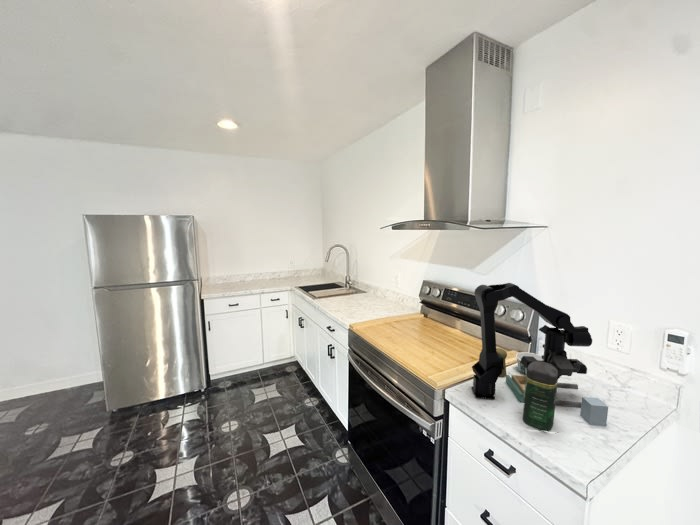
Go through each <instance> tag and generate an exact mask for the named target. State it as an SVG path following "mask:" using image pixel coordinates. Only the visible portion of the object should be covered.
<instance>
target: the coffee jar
mask: <svg viewBox="0 0 700 525" xmlns="http://www.w3.org/2000/svg"><path fill="white" fill-rule="evenodd" d="M525 376H526V387H525V400H524V403H523V411H522V421H523V422H524V423H525V424H526V425H528V427H532V428H534V429H536V430H538V431H542V432H550V431H552V429H553V427H554V422H555V409H556V406H555V404H556V400H557V393H558V388H557V383H559V382H558V381H559V379H558V371H557V369H556V368H555V367H554V366H553V365H552V364H549V363H546V362H542V361H535V362H532V363H530V364H529V365H528V368H527V375H525Z"/></svg>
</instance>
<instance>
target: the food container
mask: <svg viewBox="0 0 700 525" xmlns="http://www.w3.org/2000/svg"><path fill="white" fill-rule="evenodd" d="M523 356H532V357H534V358H535V359H536V360H540V361H543V359H542V354H537V353H533V352H526V351H522V352H517V353H516V354H515V357H516V363H517V370H518V371H519V372H520V373H521V374H522V375H525V376H526V375H527V369H526V368H525V367H524V366H523V364H522V363H521V358H522V357H523Z"/></svg>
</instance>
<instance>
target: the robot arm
mask: <svg viewBox="0 0 700 525" xmlns="http://www.w3.org/2000/svg"><path fill="white" fill-rule="evenodd" d="M512 297H513V298H514V299H516V300H517V301H519V302H520V303H522V304H523V305H525V306H526V307H528V308H529V309H531V310H533V311H534V312H535V313H536V314H537V315H538V316H539V318H541V319H542V320H543V321H544V322H545V323H547V324H549V325H551V327H549V326H548V325H546V324H545V325H543V326H542V327H539V329H538V331H539V332H541V333H543V334H544V344H542V348H543V354H541V356H542V359H543V361H542V362H546V363H549V364H552V365H553V366H554V367H555V368H556V369H557V371H558V380H559V379H560V378H561V377H562V376H567V377H571V376H573V373H576V374H579V375H580V374H581V375H586V374H588V367H587V365H586V364H585V363H583V362H582V361H581V360H579V359H577V358H568V354H567V351H566V350H565V346H566V345H567V346H569V347H582V348H583V347H591V345H592V344H593V338H592V335H591V333H590V332H589V328H588V327H586V326H584V325H580V326H574V325H573V323H572V321H571V316H570V315H569V314H568V313H566V312H564V311H562V310H559V309H557V308H555V307H553V306H550V305H547V304H545V303H544V302H543V301H541V300H539V299H537V298H536V297H534V296H533V295H531V294H530V293H528V292H526V291H525V290H523V289H522V288H521V287H519V285H516V284H515V283H512V282H507V283H502V284H501V283H498V284H490V285H487V284H480V285H478V286H477V287H476V288H475V289H474V298H475V300H476V304H477V307H478V309H479V312H480V315H479V316H480V329H481V348H482V349H481V350H480V352H479V357H478V361H477V362H476V363H474V364H473V365H472V366H471V368H472V371H473V373H474V374H473V380H472V381H473V383H472V384H473V385H472V386H471V391H472V393H473V394H474V397H475V398H476V399H485V400H495V399H496V396H495V395H496V387H497V386H496V383H497V381H498V379H499V378H500V377H499V376H500V375H501V374H502V369H503V370H504V367H503V361H504V360H503V357H502V356H501V355H500V354H499V353H498V352H497V351H496V348H497V337H496V336H497V335H496V333H497V332H496V316H495V313H496V310H497V308H498V304H499V302H500V301H504V300H507V299H510V298H512ZM535 361H540V360H536V359H535V358H534V357H532V356H523V357H522V358H521V363H522V364H523V366H524V367H525V368H526V369H527V368H528V365H529V364H530V363H532V362H535Z"/></svg>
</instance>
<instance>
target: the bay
mask: <svg viewBox="0 0 700 525" xmlns="http://www.w3.org/2000/svg"><path fill="white" fill-rule="evenodd" d="M511 377H512V376H510V375H509V374H506V377H505V384H507V386H508V388H509V389H510V390H511V392H512V393H513V395H514V396H515V398H516V399H517V401H518V402H519V403H521V404H524V400H525V397H523V396H524V395H523V393H522V392H521V391H520V389H519V388H518V387H517V385H516V384H515V383H514V381H513V380H512V379H511ZM558 388H559V389H571V390H578V389H579V384H578V383H568V382H567V383H566V382H557V389H558ZM581 402H582V401H569V400H560V399H556V404H555V407H556V406H557V407H565V408H575V409H577V408H578V409H581Z"/></svg>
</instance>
